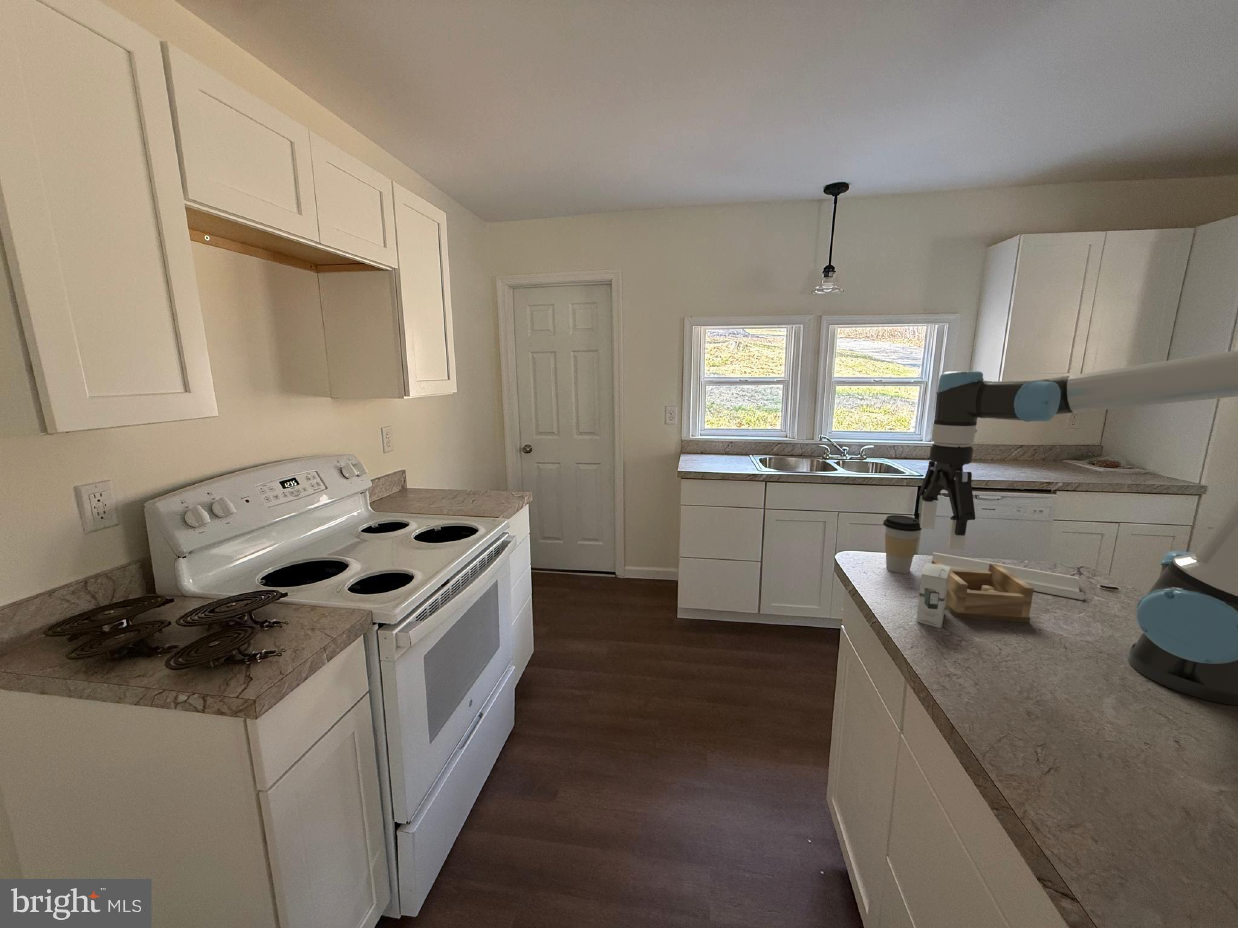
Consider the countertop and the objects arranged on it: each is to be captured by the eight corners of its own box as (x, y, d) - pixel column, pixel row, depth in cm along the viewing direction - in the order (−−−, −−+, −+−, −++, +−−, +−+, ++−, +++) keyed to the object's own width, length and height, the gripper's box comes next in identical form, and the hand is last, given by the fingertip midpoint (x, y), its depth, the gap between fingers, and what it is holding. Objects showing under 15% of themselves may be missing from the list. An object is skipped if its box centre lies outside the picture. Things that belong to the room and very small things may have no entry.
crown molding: (930, 573, 132) (931, 561, 132) (932, 560, 142) (933, 549, 141) (1083, 603, 114) (1085, 589, 114) (1073, 585, 124) (1075, 572, 123)
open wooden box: (1029, 622, 105) (1035, 588, 103) (954, 617, 108) (959, 583, 106) (992, 594, 118) (997, 563, 117) (927, 589, 121) (931, 560, 120)
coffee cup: (922, 577, 129) (928, 525, 126) (885, 574, 130) (890, 523, 128) (909, 563, 138) (914, 514, 135) (874, 561, 140) (878, 513, 137)
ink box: (920, 607, 112) (925, 560, 110) (945, 613, 109) (951, 565, 107) (915, 621, 106) (920, 572, 104) (941, 628, 103) (947, 578, 101)
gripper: (1006, 454, 88) (990, 560, 92) (944, 436, 112) (933, 521, 116) (961, 453, 90) (948, 557, 94) (909, 436, 114) (900, 520, 118)
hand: (940, 537), depth 105 cm, fingers open, 13 cm apart
